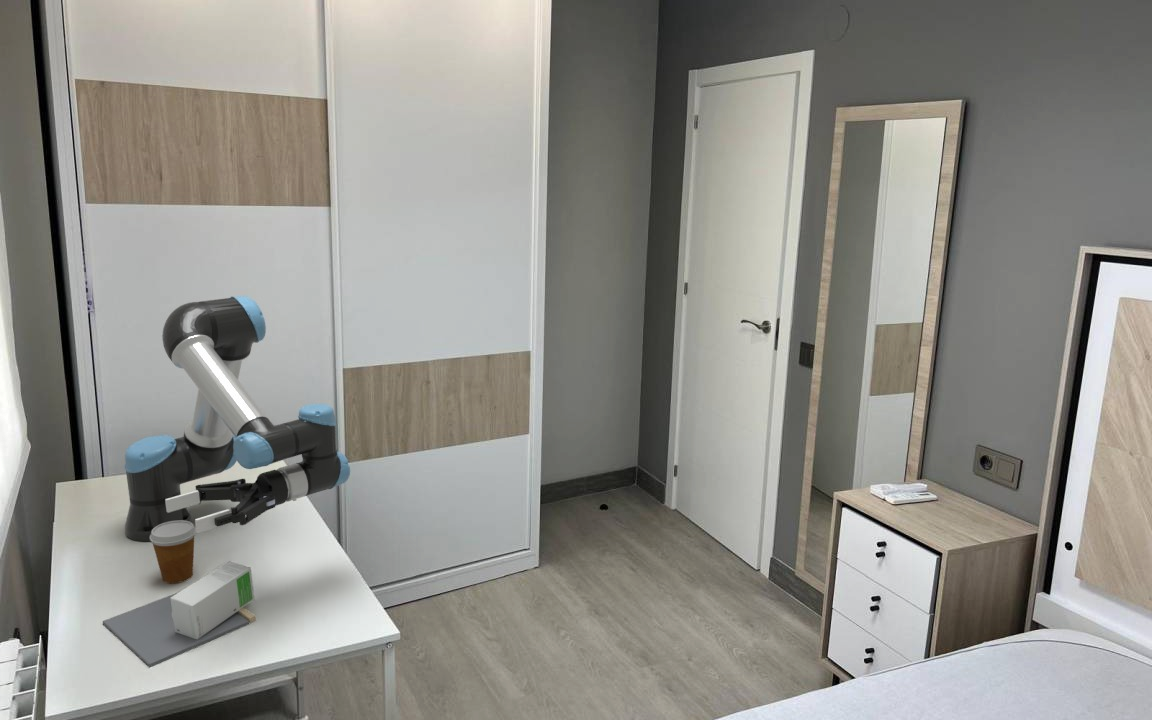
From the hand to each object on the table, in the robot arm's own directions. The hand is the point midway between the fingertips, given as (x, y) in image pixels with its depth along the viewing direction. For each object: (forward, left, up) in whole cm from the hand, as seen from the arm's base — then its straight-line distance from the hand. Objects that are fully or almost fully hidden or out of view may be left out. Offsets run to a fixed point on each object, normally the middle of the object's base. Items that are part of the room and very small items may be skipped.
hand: (180, 516), depth 165 cm
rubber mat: (-4, -2, -25) cm, 25 cm away
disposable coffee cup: (-23, +7, -25) cm, 35 cm away
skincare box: (-2, +12, -19) cm, 23 cm away
